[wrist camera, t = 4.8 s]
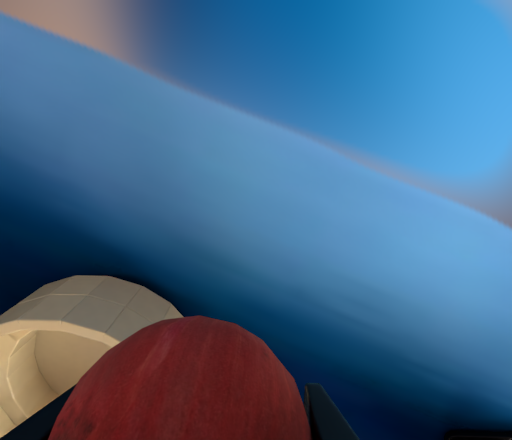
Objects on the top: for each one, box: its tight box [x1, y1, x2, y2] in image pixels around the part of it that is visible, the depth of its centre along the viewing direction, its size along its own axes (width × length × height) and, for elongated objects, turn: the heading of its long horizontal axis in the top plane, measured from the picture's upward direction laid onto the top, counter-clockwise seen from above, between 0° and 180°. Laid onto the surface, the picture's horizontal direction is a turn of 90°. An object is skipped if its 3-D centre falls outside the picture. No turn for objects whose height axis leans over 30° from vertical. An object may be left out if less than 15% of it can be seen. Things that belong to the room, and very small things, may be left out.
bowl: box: [0, 275, 183, 438], centre depth 18 cm, size 13×13×5 cm
